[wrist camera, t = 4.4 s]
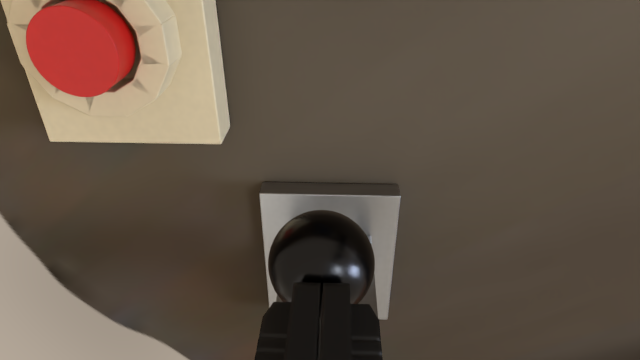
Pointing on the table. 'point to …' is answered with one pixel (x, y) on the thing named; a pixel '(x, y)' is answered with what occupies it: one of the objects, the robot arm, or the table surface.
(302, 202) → the base
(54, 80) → the button
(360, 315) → the robot arm
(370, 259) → the lever handle
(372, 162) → the table surface
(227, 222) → the table surface
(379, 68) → the table surface
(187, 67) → the button block
